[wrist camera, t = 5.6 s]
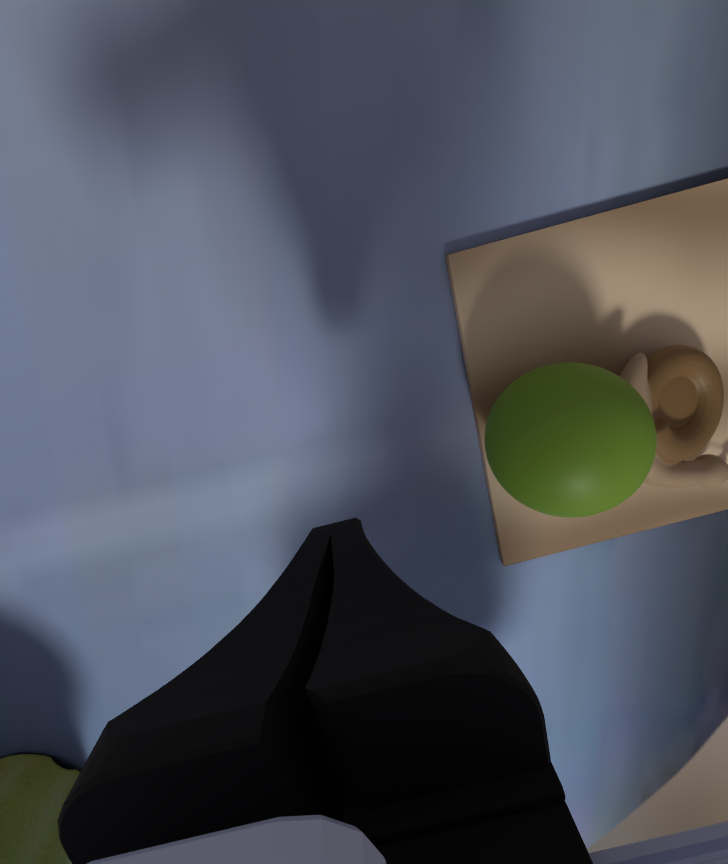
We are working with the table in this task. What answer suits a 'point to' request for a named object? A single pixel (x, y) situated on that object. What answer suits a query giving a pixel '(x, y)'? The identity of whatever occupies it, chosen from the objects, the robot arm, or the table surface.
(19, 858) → the plant pot
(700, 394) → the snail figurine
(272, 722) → the robot arm
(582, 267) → the cork mat
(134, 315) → the table surface
